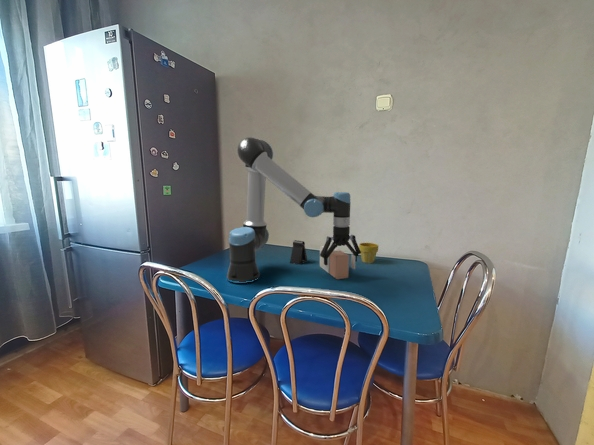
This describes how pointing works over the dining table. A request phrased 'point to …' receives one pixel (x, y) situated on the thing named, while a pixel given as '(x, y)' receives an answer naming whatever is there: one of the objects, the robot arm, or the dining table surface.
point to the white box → (323, 258)
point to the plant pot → (368, 252)
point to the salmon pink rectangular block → (339, 265)
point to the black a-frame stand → (298, 252)
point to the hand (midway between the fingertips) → (340, 269)
